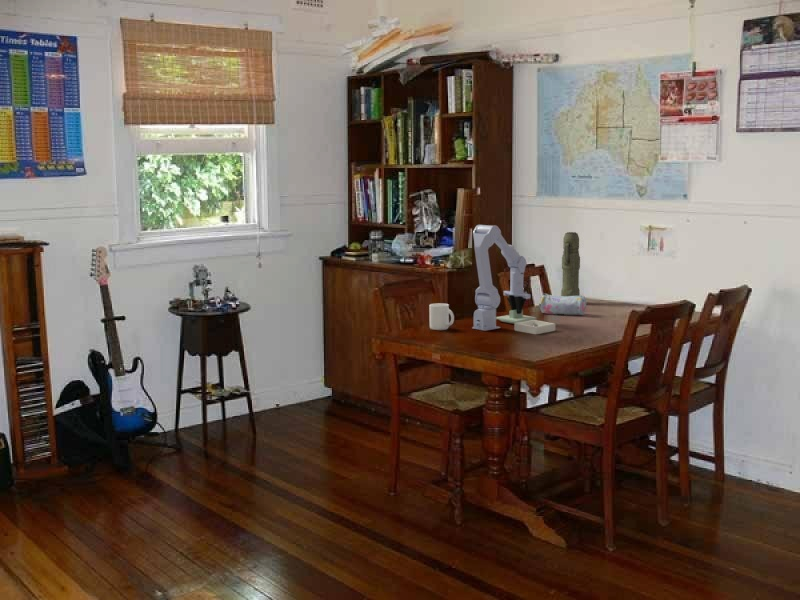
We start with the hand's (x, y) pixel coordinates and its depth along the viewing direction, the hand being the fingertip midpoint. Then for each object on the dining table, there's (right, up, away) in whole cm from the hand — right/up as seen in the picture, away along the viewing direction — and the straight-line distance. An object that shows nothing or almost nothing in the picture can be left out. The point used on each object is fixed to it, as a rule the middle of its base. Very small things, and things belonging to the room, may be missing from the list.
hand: (516, 313), depth 411 cm
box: (+5, -7, -20) cm, 21 cm away
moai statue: (+33, +4, +49) cm, 59 cm away
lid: (0, -3, 0) cm, 3 cm away
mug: (-33, -7, -14) cm, 37 cm away
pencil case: (+24, -1, +19) cm, 30 cm away
